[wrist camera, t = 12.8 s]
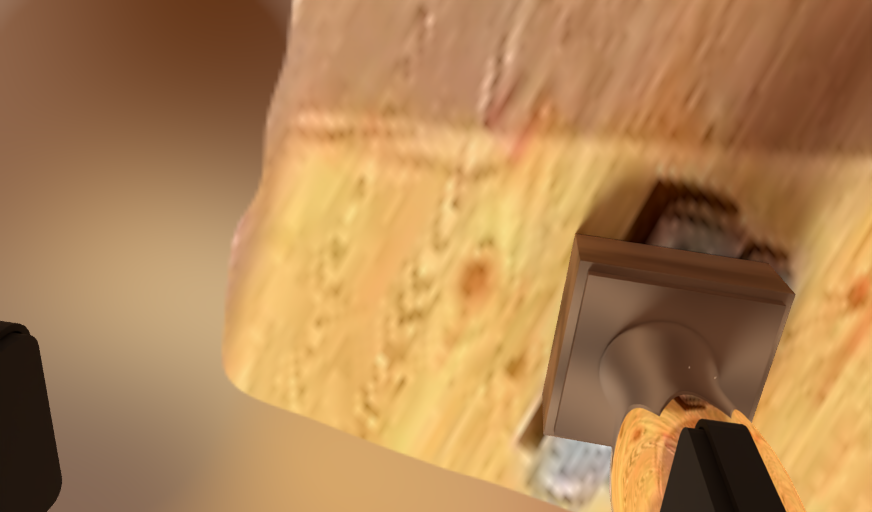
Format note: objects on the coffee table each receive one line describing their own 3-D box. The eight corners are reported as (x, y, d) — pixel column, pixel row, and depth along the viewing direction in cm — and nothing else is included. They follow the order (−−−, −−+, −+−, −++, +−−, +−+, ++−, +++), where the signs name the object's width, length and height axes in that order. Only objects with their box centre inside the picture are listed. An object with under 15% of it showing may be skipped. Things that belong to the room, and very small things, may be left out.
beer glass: (707, 435, 38) (807, 687, 24) (580, 415, 39) (607, 650, 25) (738, 322, 36) (871, 532, 22) (602, 303, 36) (647, 495, 22)
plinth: (575, 233, 40) (580, 264, 36) (768, 263, 39) (799, 298, 35) (542, 394, 44) (543, 440, 40) (716, 424, 43) (738, 475, 39)
